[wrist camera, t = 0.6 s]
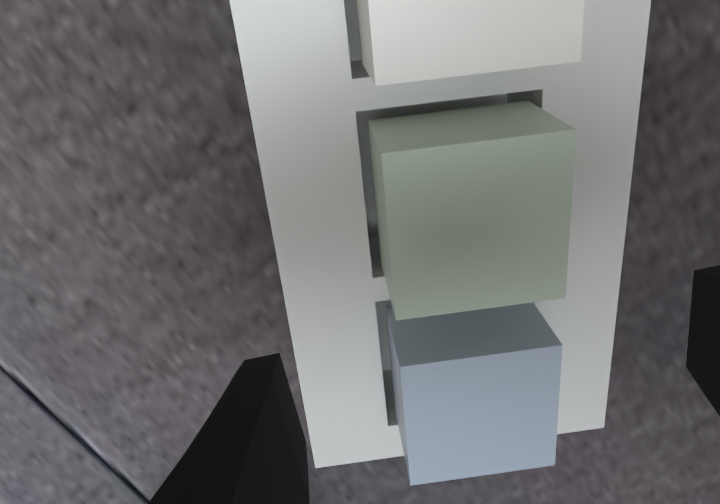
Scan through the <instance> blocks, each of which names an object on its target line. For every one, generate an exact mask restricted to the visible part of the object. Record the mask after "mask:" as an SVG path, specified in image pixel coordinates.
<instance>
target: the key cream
mask: <svg viewBox="0 0 720 504" xmlns="http://www.w3.org/2000/svg"><path fill="white" fill-rule="evenodd" d="M584 2H585V0H356V4H357V14H358V25H359V35H360V46H361V56H362V64H363V66H364V68H365V69H366V71H367V73H368V74H369V76H370V78H371V79H372V81H373V83H374V84H375V86H380V85H388V84H397V83H405V82H414V81H422V80H430V79H439V78H447V77H455V76H464V75H472V74H481V73H489V72H497V71H506V70H514V69H522V68H531V67H539V66H547V65H556V64H564V63H573V62H581V49H582V34H583V18H584Z"/></svg>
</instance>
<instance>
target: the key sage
mask: <svg viewBox="0 0 720 504" xmlns="http://www.w3.org/2000/svg"><path fill="white" fill-rule="evenodd" d="M368 130H369V140H370V150H371V161H372V171H373V182H374V192H375V203H376V213H377V224H378V234H379V245H380V255H381V265H382V269H383V273H384V277H385V280H386V284H387V288H388V292H389V296H390V300H391V303H392V307H393V311H394V315H395V319H396V321H397V320H404V319H412V318H419V317H427V316H434V315H442V314H450V313H457V312H465V311H472V310H480V309H487V308H495V307H502V306H510V305H517V304H525V303H532V302H540V301H547V300H555V299H563V298H566V283H567V268H568V252H569V237H570V221H571V205H572V190H573V174H574V158H575V143H576V129H575V128H573V127H571V126H570V125H568V124H566V123H565V122H563V121H561V120H560V119H558V118H556V117H555V116H553V115H551V114H550V113H548V112H546V111H545V110H543V109H541V108H539V107H538V106H536V105H534V104H533V103H531V102H529V101H522V102H514V103H506V104H498V105H489V106H481V107H473V108H465V109H456V110H448V111H440V112H432V113H423V114H415V115H407V116H399V117H390V118H382V119H374V120H368Z"/></svg>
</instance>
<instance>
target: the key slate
mask: <svg viewBox="0 0 720 504" xmlns="http://www.w3.org/2000/svg"><path fill="white" fill-rule="evenodd" d="M385 308H386V318H387V329H388V339H389V350H390V360H391V371H392V381H393V392H394V402H395V413H396V418H397V423H398V428H399V433H400V438H401V443H402V448H403V452H404V457H405V462H406V467H407V472H408V477H409V482H410V486H411V485H418V484H425V483H432V482H439V481H447V480H454V479H461V478H468V477H475V476H482V475H489V474H496V473H503V472H510V471H517V470H524V469H531V468H538V467H545V466H552V465H555V455H556V439H557V424H558V408H559V393H560V377H561V361H562V346H563V345H562V343H561V342H560V341H559V339H558V338H557V336H556V335H555V333H554V332H553V330H552V329H551V327H550V326H549V324H548V323H547V322H546V320H545V319H544V317H543V316H542V314H541V313H540V311H539V310H538V308H537V307H536V306H535V304H534V303H533V302H532V303H525V304H517V305H510V306H502V307H495V308H487V309H480V310H472V311H465V312H457V313H450V314H442V315H434V316H427V317H419V318H412V319H404V320H397V321H396V319H395V315H394V311H393V307H392V305H387V306H385Z"/></svg>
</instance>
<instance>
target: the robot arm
mask: <svg viewBox="0 0 720 504" xmlns="http://www.w3.org/2000/svg"><path fill="white" fill-rule="evenodd" d="M686 367H687V369H688V370H689V372H690V373H691V375H692V376H693V378H694V379H695V381H696V382H697V384H698V385H699V387H700V388H701V390H702V392H703V393H704V395H705V396H706V397H707V399H708V400H709V402H710V403H711V404H712V406H713V407H714V409H715V410H716V411H717V413H718V414H719V416H720V265H719V266H714V267H709V268H704V269H699V270H694V277H693V289H692V301H691V313H690V325H689V337H688V349H687V361H686ZM148 504H309V482H308V466H307V451H306V441H305V437H304V434H303V431H302V427H301V424H300V420H299V417H298V414H297V410H296V407H295V404H294V400H293V397H292V394H291V390H290V387H289V384H288V380H287V377H286V374H285V370H284V367H283V364H282V360H281V357H280V354H279V353H278V354H273V355H268V356H263V357H258V358H253V359H248V360H244V362H243V363H242V365H241V366H240V368H239V369H238V371H237V372H236V374H235V375H234V377H233V379H232V380H231V382H230V384H229V385H228V387H227V388H226V390H225V392H224V393H223V395H222V397H221V398H220V400H219V401H218V403H217V405H216V406H215V408H214V409H213V411H212V413H211V414H210V416H209V417H208V419H207V420H206V422H205V424H204V425H203V427H202V428H201V430H200V431H199V433H198V434H197V436H196V437H195V439H194V440H193V442H192V443H191V445H190V446H189V448H188V449H187V451H186V452H185V454H184V455H183V457H182V458H181V459H180V461H179V462H178V464H177V465H176V466H175V468H174V469H173V470H172V472H171V473H170V474H169V476H168V477H167V479H166V480H165V481H164V483H163V484H162V485H161V487H160V488H159V489H158V491H157V492H156V494H155V495H154V496H153V498H152V499H151V500H150V502H149V503H148Z"/></svg>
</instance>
